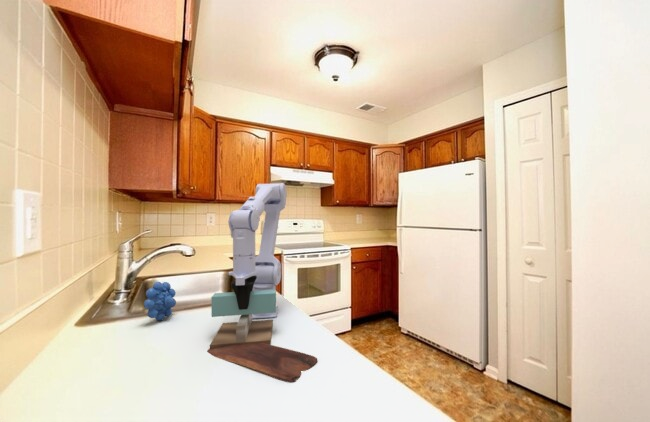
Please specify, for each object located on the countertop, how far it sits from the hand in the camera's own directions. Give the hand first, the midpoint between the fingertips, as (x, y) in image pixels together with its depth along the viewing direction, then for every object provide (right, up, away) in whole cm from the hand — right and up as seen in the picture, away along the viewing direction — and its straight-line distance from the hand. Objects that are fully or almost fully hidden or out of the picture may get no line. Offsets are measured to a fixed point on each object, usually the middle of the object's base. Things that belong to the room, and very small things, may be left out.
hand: (244, 306), depth 71 cm
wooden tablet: (+6, -8, -11) cm, 15 cm away
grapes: (-28, -8, +11) cm, 31 cm away
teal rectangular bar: (0, -2, 0) cm, 2 cm away
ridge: (0, -7, 0) cm, 7 cm away
